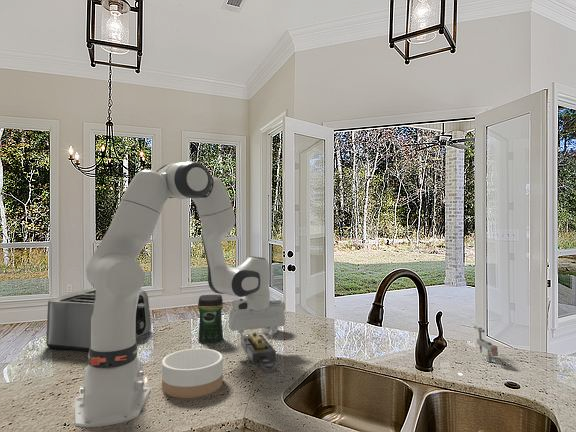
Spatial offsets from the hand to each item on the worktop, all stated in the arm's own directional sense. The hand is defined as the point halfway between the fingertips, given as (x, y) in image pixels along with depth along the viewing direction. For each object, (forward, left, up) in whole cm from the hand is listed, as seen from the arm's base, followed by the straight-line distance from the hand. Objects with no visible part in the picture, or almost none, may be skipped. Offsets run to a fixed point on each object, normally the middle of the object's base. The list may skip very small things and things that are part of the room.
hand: (257, 340), depth 138 cm
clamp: (-28, -75, -6) cm, 80 cm away
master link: (0, 0, -4) cm, 4 cm away
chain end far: (+5, 0, -5) cm, 7 cm away
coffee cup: (+23, -11, -5) cm, 26 cm away
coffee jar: (+19, +14, -5) cm, 24 cm away
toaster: (+33, +56, -6) cm, 65 cm away
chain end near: (-5, 0, -5) cm, 7 cm away
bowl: (-19, +24, -6) cm, 31 cm away
